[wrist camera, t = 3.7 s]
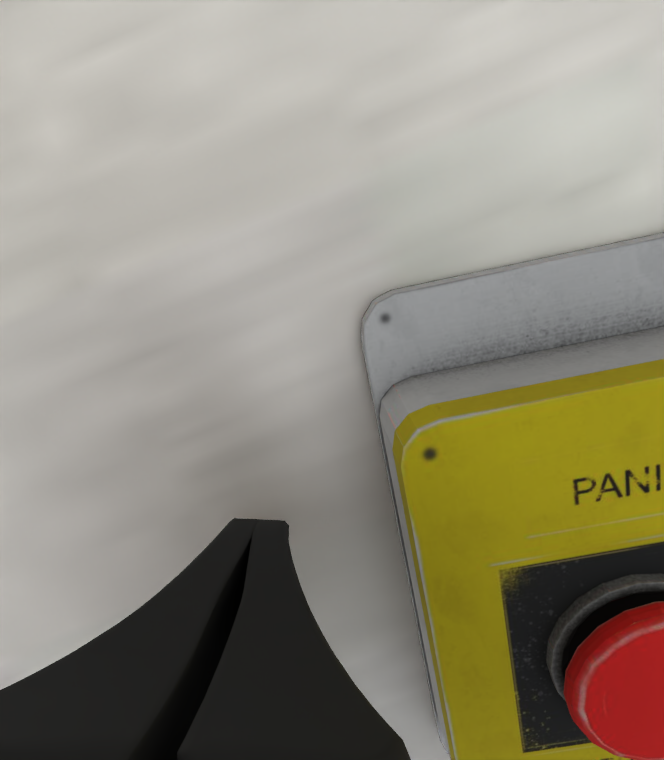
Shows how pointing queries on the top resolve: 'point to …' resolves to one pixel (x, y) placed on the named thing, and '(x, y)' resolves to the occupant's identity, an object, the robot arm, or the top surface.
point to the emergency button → (532, 498)
